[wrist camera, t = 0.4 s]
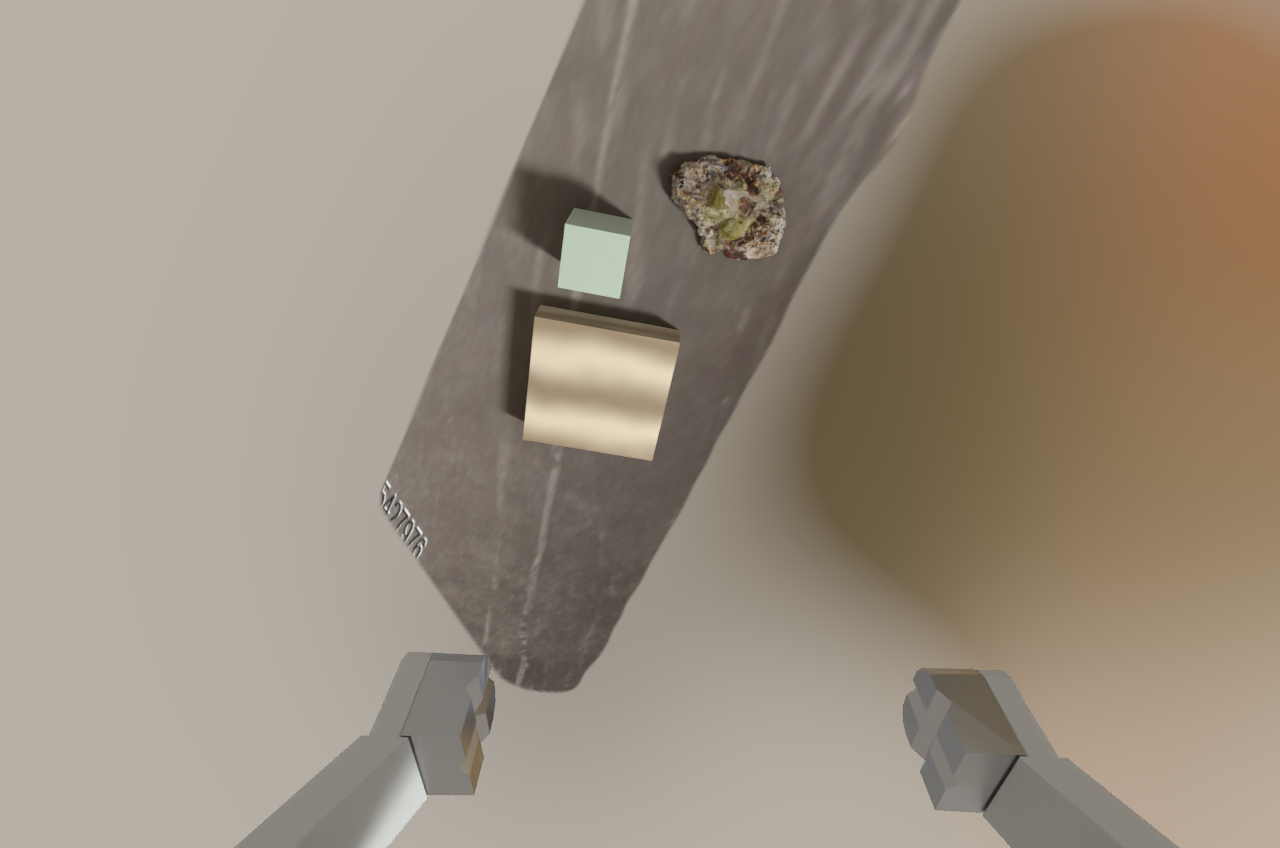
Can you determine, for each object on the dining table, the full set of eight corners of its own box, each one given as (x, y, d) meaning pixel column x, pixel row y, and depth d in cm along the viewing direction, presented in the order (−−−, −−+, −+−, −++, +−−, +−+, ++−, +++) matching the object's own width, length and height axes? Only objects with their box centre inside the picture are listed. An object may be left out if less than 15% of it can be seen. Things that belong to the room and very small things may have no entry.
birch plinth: (540, 304, 53) (534, 316, 51) (678, 330, 54) (680, 342, 52) (528, 423, 60) (522, 439, 57) (652, 444, 61) (652, 460, 58)
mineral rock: (819, 192, 46) (764, 283, 48) (799, 197, 50) (750, 281, 52) (704, 115, 44) (651, 214, 45) (693, 127, 48) (645, 217, 50)
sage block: (574, 207, 49) (564, 223, 44) (632, 219, 49) (630, 236, 44) (567, 265, 52) (557, 287, 46) (622, 276, 52) (619, 298, 47)
